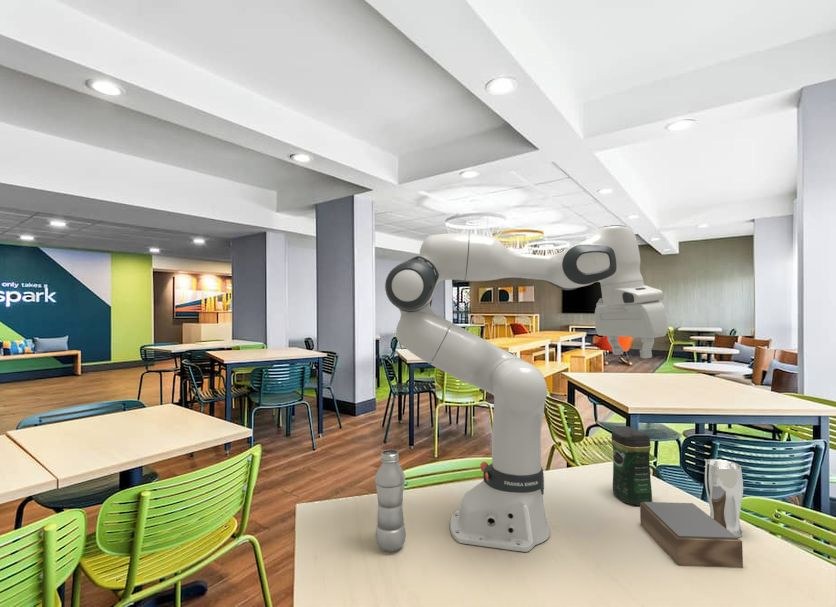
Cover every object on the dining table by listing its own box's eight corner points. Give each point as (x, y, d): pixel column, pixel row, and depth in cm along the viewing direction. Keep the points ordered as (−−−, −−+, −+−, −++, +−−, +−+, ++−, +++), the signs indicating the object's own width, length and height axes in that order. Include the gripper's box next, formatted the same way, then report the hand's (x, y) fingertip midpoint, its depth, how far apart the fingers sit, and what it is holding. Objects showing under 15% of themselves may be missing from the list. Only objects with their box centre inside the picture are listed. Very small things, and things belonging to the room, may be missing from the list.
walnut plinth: (678, 565, 81) (677, 537, 81) (640, 524, 97) (640, 500, 97) (743, 567, 80) (742, 539, 80) (694, 525, 96) (693, 502, 96)
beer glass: (751, 540, 90) (749, 470, 90) (715, 537, 91) (713, 468, 92) (734, 524, 96) (732, 459, 97) (700, 522, 98) (698, 457, 98)
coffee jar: (658, 506, 106) (656, 432, 107) (629, 507, 105) (627, 434, 106) (634, 490, 116) (633, 423, 117) (607, 491, 115) (606, 424, 116)
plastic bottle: (409, 540, 91) (409, 448, 91) (400, 558, 84) (399, 458, 85) (382, 536, 93) (381, 446, 93) (370, 553, 86) (370, 456, 87)
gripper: (585, 300, 105) (592, 354, 104) (642, 294, 85) (651, 362, 84) (607, 297, 106) (614, 351, 105) (669, 290, 86) (678, 357, 85)
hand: (631, 356), depth 95 cm, fingers open, 8 cm apart
